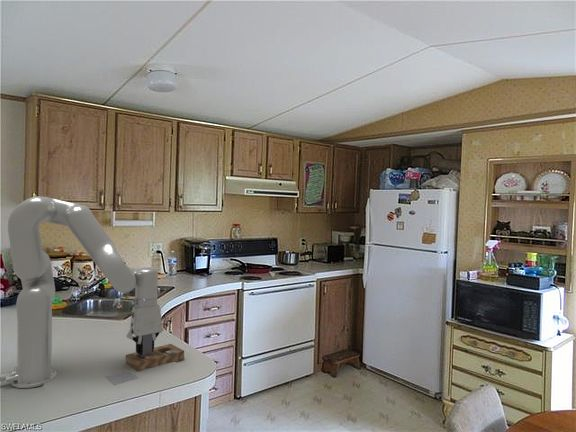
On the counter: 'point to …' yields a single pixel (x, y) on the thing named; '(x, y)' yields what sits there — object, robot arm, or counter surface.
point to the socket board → (155, 357)
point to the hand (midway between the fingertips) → (145, 351)
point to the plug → (146, 346)
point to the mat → (121, 377)
